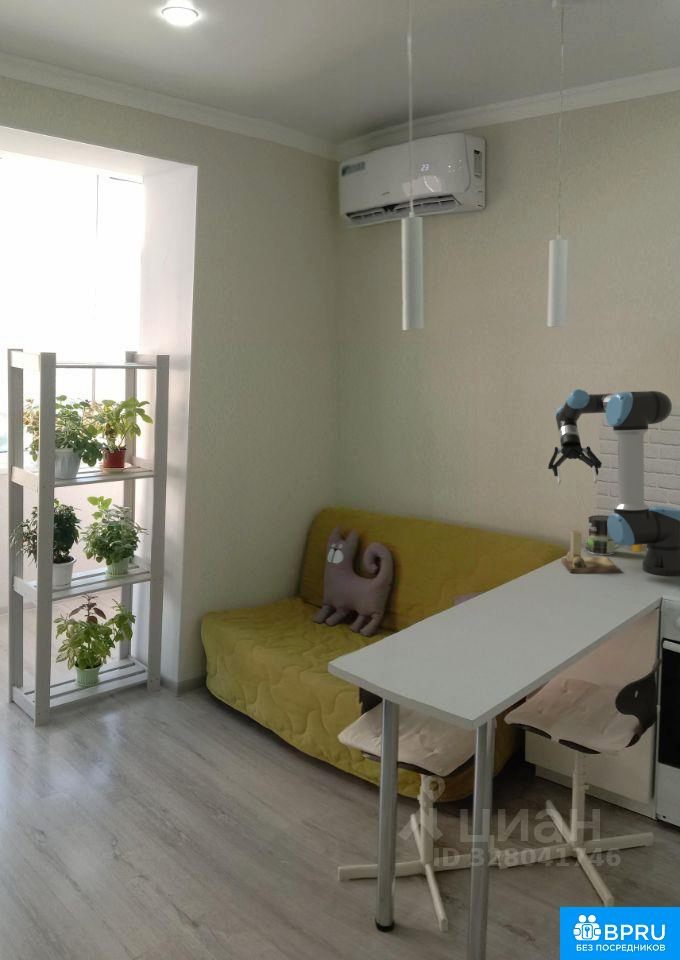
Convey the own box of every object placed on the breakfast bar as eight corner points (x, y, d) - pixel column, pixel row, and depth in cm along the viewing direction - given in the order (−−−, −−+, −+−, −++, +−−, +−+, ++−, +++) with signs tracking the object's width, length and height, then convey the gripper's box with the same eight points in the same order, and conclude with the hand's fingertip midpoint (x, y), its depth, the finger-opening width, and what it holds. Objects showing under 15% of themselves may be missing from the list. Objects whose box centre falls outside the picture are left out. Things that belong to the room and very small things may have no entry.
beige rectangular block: (579, 561, 304) (579, 530, 302) (582, 565, 299) (583, 533, 297) (568, 561, 304) (568, 530, 303) (571, 565, 299) (571, 533, 298)
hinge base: (608, 561, 309) (608, 548, 308) (619, 572, 293) (620, 558, 292) (561, 562, 310) (561, 549, 309) (570, 573, 294) (570, 559, 293)
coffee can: (594, 556, 318) (594, 520, 316) (583, 550, 328) (584, 515, 326) (619, 554, 319) (620, 519, 317) (608, 549, 329) (608, 514, 327)
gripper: (599, 444, 328) (608, 487, 315) (536, 445, 329) (543, 488, 317) (603, 432, 322) (612, 475, 309) (539, 433, 323) (546, 476, 311)
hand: (577, 481), depth 313 cm, fingers open, 13 cm apart
